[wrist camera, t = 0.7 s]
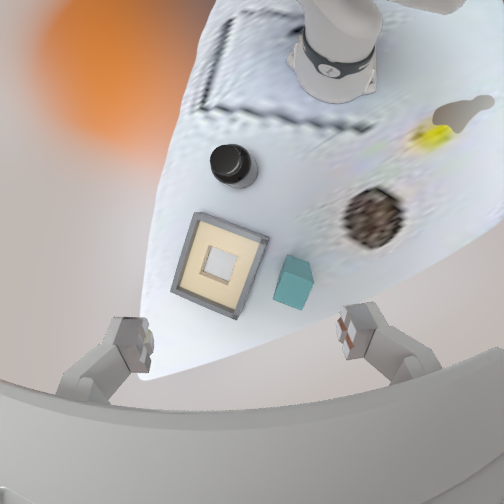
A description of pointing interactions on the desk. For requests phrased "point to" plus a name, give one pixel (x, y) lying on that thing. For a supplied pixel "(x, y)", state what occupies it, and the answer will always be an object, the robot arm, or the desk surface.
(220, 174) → the supplement bottle
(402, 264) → the desk surface
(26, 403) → the robot arm
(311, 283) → the peg
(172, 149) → the desk surface
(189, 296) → the open box
